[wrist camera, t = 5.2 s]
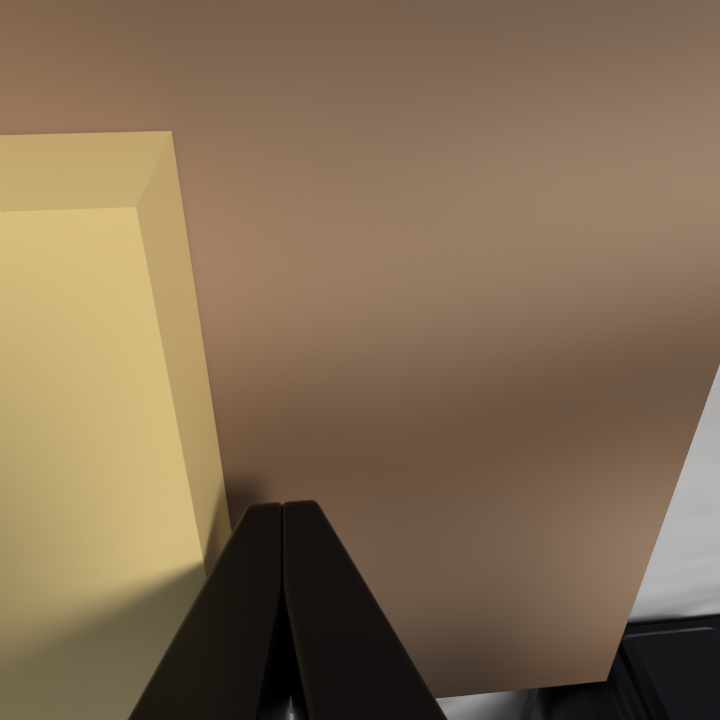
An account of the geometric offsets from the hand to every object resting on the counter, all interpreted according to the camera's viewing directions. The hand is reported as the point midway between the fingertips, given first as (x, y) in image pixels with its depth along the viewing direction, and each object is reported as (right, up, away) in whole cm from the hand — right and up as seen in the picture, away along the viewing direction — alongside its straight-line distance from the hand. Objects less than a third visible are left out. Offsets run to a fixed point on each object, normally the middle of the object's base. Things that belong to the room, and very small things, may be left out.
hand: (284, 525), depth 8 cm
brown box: (0, +3, +4) cm, 5 cm away
